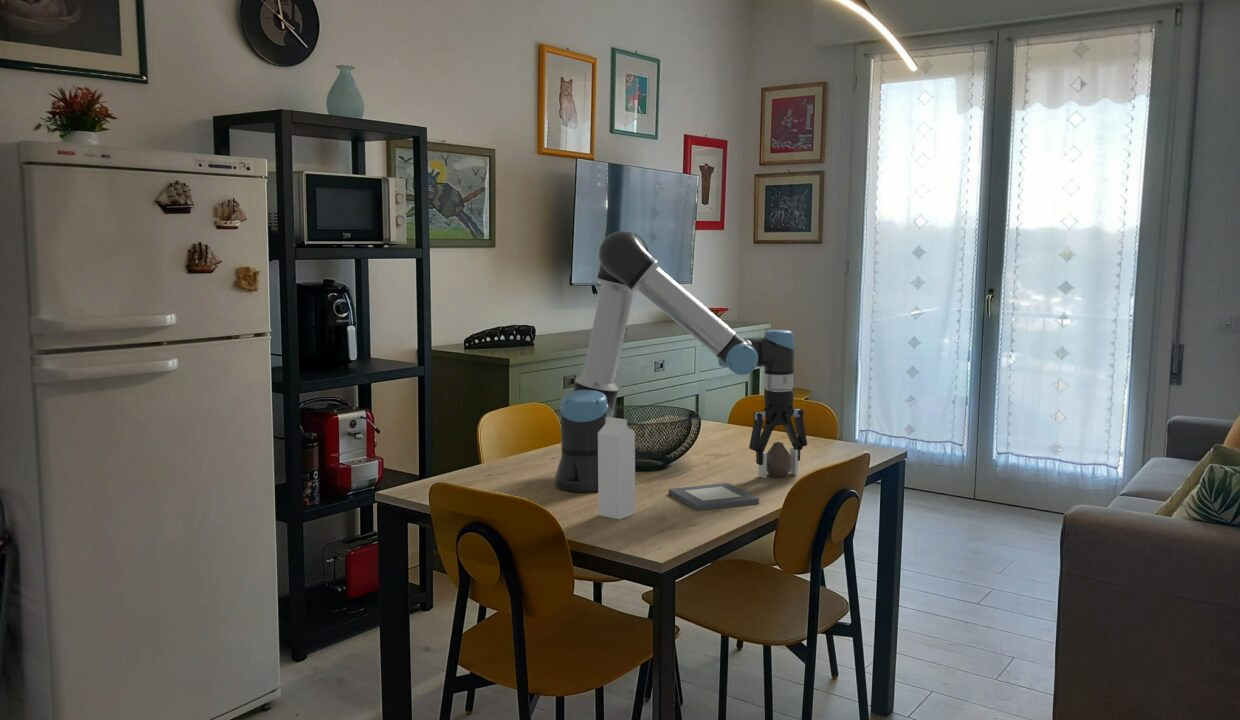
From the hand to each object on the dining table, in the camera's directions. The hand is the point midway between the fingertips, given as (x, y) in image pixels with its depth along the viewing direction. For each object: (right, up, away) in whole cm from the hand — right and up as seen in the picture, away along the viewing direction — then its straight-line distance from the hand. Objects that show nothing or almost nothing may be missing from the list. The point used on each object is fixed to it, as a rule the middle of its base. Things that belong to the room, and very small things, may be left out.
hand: (778, 474), depth 247 cm
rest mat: (-19, -3, -22) cm, 30 cm away
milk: (-42, -5, -35) cm, 55 cm away
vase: (0, 0, 0) cm, 1 cm away
